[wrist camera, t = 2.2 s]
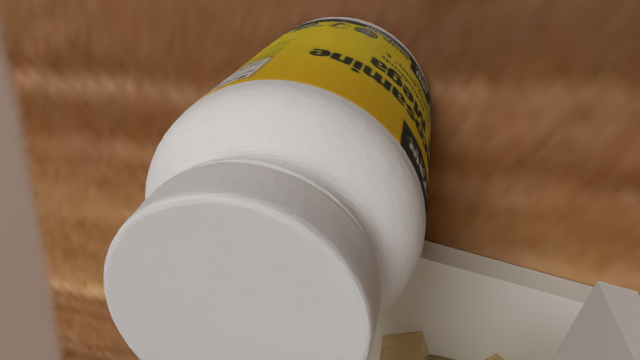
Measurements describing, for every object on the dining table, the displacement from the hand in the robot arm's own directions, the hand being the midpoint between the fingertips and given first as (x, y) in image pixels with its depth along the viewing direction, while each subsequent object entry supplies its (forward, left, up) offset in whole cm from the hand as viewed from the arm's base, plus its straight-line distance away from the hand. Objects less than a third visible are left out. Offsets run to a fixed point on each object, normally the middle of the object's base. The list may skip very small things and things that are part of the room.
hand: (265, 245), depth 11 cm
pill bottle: (0, 0, -9) cm, 9 cm away
